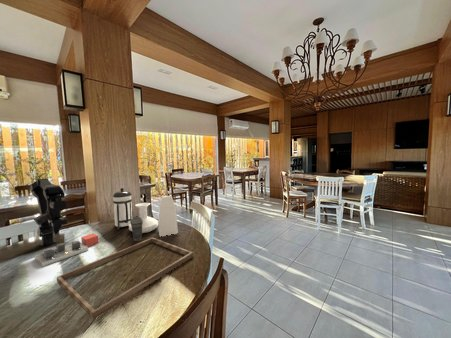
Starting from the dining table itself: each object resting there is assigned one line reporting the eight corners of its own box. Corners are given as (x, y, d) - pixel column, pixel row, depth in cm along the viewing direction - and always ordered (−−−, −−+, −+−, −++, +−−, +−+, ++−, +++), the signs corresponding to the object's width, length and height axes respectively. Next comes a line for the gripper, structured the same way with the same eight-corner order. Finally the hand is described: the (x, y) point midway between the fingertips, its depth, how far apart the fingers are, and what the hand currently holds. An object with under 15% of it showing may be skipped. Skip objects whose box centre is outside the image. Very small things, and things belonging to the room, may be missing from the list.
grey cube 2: (56, 250, 109) (56, 244, 109) (63, 247, 112) (62, 242, 111) (58, 251, 107) (57, 246, 107) (65, 249, 110) (64, 244, 110)
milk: (175, 228, 146) (174, 194, 144) (177, 233, 136) (176, 197, 134) (158, 230, 141) (157, 195, 139) (159, 236, 131) (158, 198, 129)
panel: (34, 259, 104) (34, 254, 103) (79, 244, 120) (78, 240, 120) (42, 266, 96) (41, 262, 96) (88, 250, 113) (87, 246, 113)
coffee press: (106, 229, 144) (104, 189, 141) (121, 222, 159) (120, 186, 157) (128, 231, 141) (126, 190, 138) (141, 223, 156) (139, 186, 154)
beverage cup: (138, 242, 122) (137, 211, 121) (128, 241, 124) (127, 210, 122) (145, 237, 129) (144, 208, 128) (136, 236, 131) (134, 207, 129)
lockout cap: (81, 244, 121) (81, 237, 120) (93, 240, 126) (93, 233, 126) (86, 246, 117) (85, 239, 117) (98, 242, 123) (97, 235, 122)
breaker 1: (44, 256, 102) (44, 251, 102) (51, 254, 104) (51, 248, 104) (46, 258, 100) (45, 252, 100) (53, 255, 103) (53, 250, 102)
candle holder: (149, 236, 131) (148, 208, 130) (122, 234, 134) (121, 207, 133) (163, 225, 151) (162, 201, 150) (139, 224, 154) (138, 200, 153)
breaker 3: (72, 247, 112) (71, 242, 112) (78, 245, 114) (77, 240, 114) (74, 248, 110) (73, 243, 110) (80, 246, 113) (80, 241, 112)
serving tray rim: (57, 282, 84) (56, 276, 84) (152, 241, 124) (152, 237, 124) (93, 320, 65) (92, 313, 65) (193, 256, 105) (192, 252, 104)
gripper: (30, 208, 110) (32, 235, 111) (40, 214, 99) (42, 243, 100) (55, 204, 119) (57, 229, 120) (66, 209, 108) (68, 236, 110)
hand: (56, 234), depth 112 cm, fingers closed
